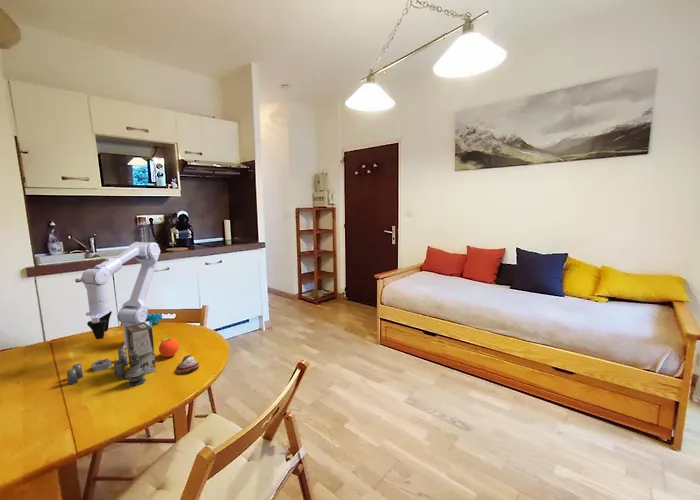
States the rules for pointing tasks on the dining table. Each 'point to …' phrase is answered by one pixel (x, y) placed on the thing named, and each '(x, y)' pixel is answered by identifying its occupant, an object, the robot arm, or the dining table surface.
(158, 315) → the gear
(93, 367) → the nut
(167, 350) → the clementine
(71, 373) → the spacers
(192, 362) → the pastry
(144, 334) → the coffee box
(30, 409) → the dining table surface
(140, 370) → the grey tall stone piece
